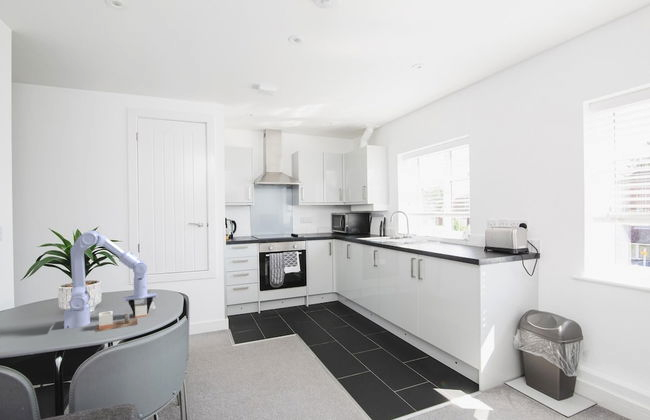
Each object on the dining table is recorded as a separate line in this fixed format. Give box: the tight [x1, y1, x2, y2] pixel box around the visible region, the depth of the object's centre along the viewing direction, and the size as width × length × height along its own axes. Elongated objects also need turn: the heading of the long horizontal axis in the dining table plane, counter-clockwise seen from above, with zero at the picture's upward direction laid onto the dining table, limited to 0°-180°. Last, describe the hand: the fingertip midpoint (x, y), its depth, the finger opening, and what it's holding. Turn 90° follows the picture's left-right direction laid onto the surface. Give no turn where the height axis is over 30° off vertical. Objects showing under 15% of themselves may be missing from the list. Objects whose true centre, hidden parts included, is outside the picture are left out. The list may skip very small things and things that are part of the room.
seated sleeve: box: [98, 310, 114, 330], centre depth 146 cm, size 5×5×6 cm
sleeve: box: [134, 302, 148, 319], centre depth 160 cm, size 5×5×6 cm
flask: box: [142, 290, 157, 311], centre depth 172 cm, size 7×7×10 cm
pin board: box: [94, 313, 138, 333], centre depth 148 cm, size 16×10×6 cm, turn 122°
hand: (140, 314), depth 160 cm, fingers closed on sleeve, 5 cm apart
